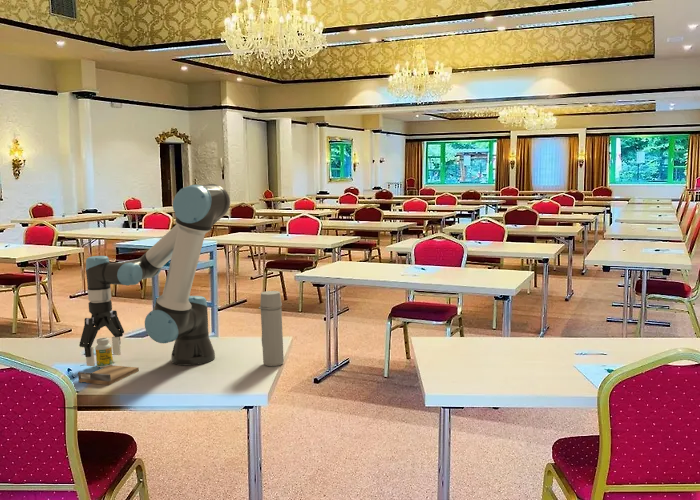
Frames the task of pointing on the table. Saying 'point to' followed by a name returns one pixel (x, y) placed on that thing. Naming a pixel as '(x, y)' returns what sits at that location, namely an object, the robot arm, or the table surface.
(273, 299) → the water bottle
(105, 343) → the supplement bottle
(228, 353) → the table surface
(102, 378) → the wooden block
